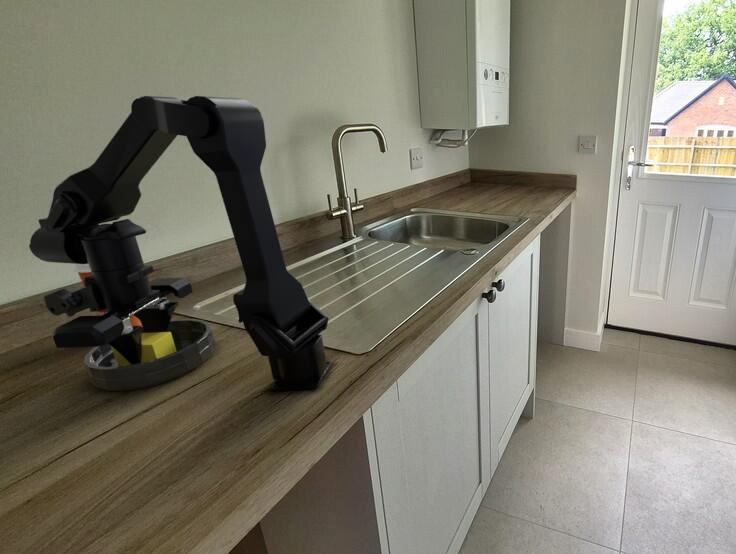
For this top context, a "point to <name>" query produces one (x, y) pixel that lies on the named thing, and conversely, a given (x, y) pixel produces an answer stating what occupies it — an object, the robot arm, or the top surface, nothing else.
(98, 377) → the pan
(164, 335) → the sponge
